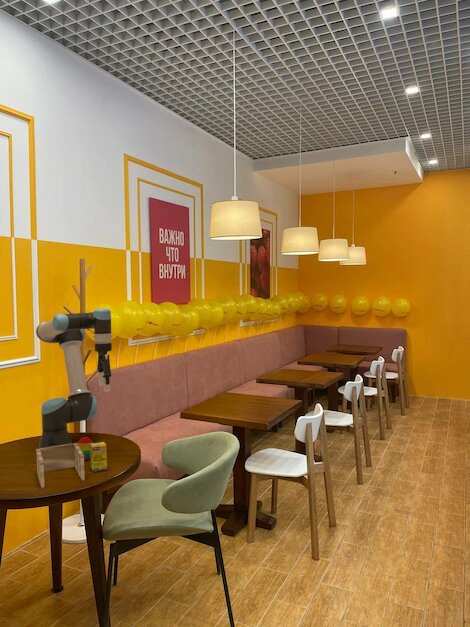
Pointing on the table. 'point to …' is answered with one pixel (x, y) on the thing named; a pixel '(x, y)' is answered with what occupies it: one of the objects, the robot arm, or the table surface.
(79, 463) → the brown wooden frame
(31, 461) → the table surface
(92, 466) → the supplement box
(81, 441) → the decorative egg
